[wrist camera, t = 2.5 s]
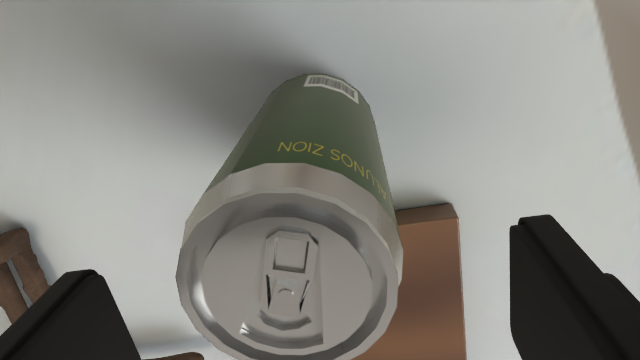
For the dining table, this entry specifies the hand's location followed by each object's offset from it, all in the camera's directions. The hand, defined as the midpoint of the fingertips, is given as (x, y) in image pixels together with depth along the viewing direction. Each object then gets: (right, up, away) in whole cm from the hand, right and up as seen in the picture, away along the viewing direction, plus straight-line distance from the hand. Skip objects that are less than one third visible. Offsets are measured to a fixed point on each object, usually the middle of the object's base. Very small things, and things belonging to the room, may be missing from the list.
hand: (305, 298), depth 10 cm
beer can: (0, +5, +11) cm, 12 cm away
